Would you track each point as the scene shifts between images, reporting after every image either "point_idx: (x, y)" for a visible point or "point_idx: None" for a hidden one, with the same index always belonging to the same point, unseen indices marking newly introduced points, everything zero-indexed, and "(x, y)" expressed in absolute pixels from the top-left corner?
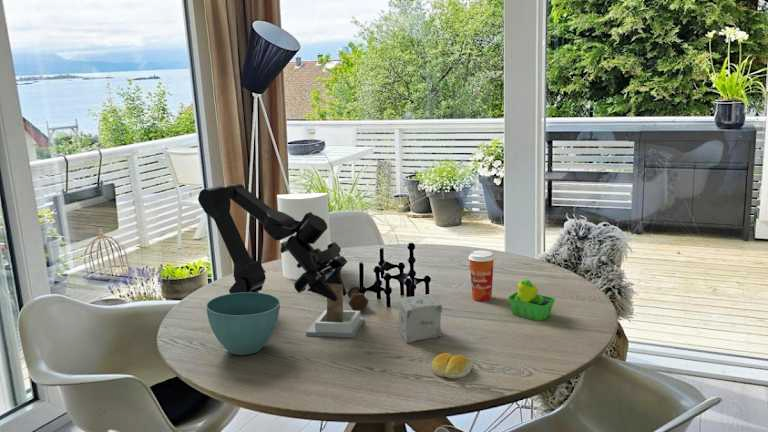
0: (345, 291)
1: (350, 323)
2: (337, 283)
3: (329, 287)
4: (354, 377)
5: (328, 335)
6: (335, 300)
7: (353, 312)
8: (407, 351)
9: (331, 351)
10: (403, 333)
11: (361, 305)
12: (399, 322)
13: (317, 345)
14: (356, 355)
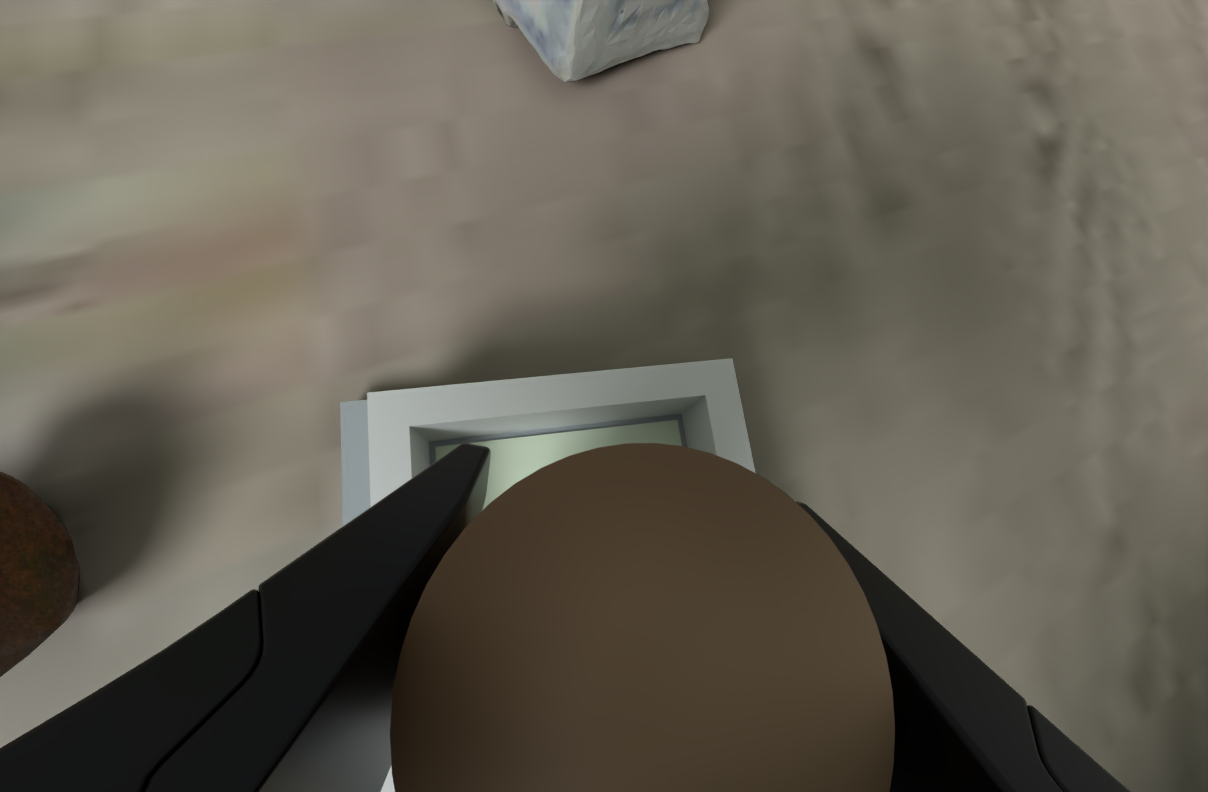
0: (472, 462)
1: (720, 369)
2: (401, 717)
3: (990, 734)
4: (1162, 199)
5: None
6: None
7: (411, 453)
8: (797, 25)
9: (960, 435)
10: (664, 24)
11: (6, 522)
12: (606, 6)
13: (916, 581)
14: (947, 264)
